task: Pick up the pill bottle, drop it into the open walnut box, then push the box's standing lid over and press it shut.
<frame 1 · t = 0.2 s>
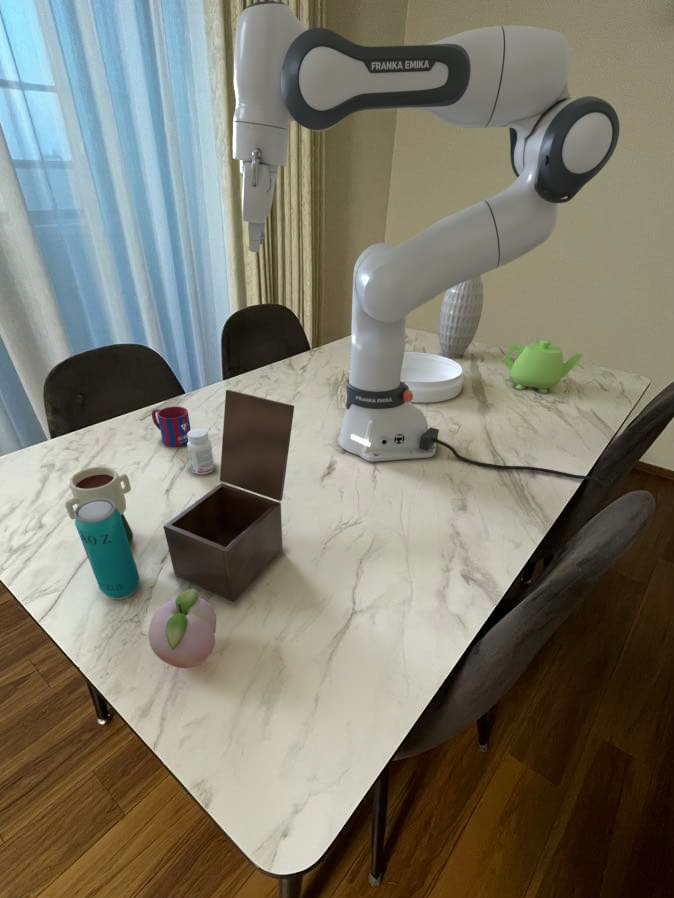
hand: (256, 247, 85), 39 cm above the table, tool pointing down, fingers open, 8 cm apart
character mug: (115, 543, 80), on the table
white round dish: (413, 385, 138), on the table
box: (230, 562, 76), on the table
lid: (254, 445, 72), point 17 cm above the table, hinge at 106.0°
pill bottle: (203, 470, 100), on the table
cup: (173, 438, 111), on the table
decorative fruit: (189, 657, 62), on the table
teapot: (532, 386, 138), on the table
beverage can: (122, 590, 72), on the table
vase: (452, 355, 160), on the table
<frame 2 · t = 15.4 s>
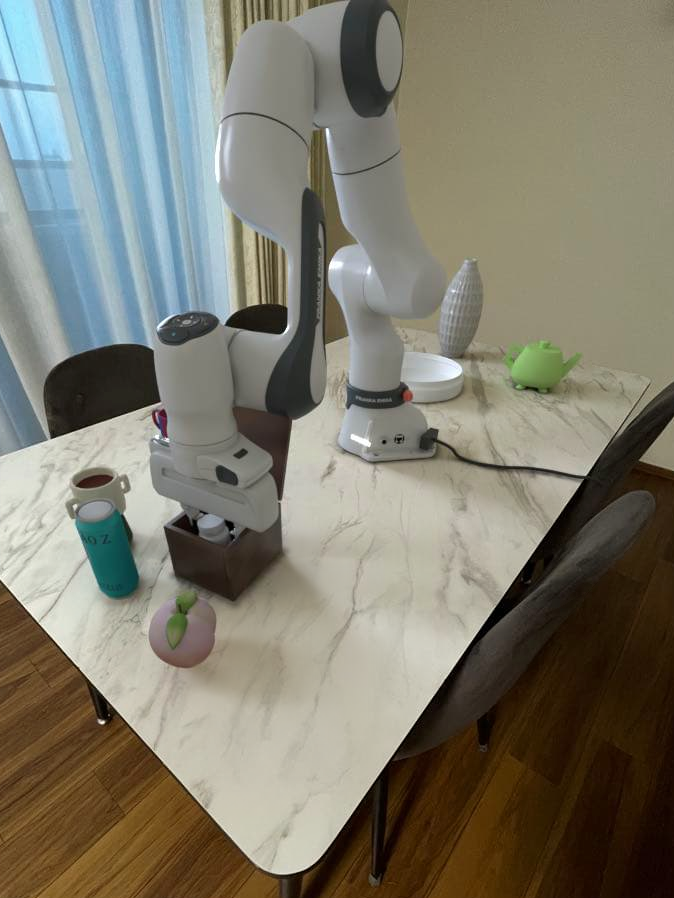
hand: (217, 532, 70), 8 cm above the table, tool pointing down, fingers open, 6 cm apart
pill bottle: (221, 565, 75), point 1 cm above the table, touching gripper
everything else where it was.
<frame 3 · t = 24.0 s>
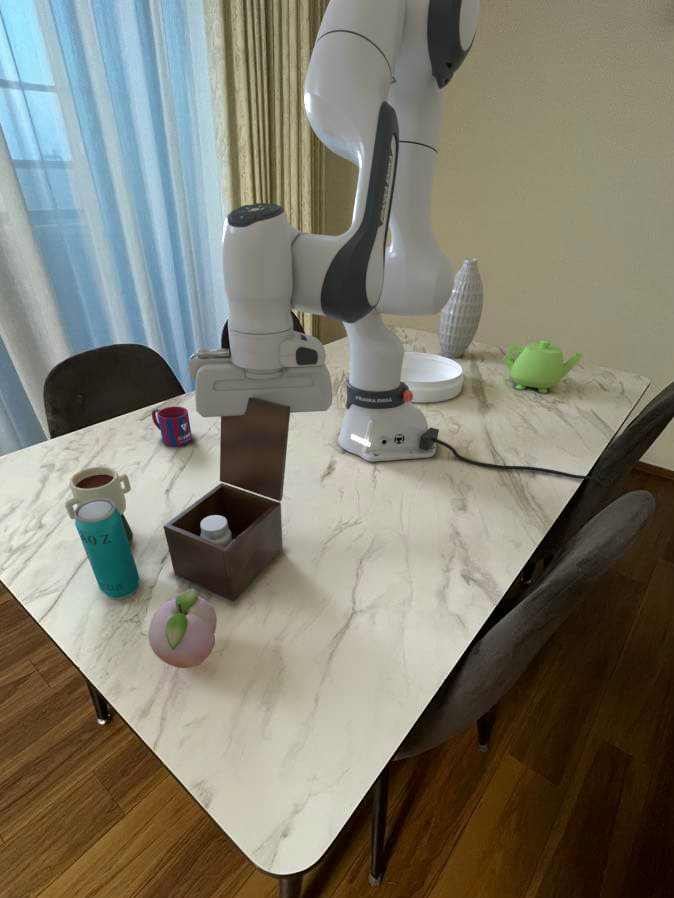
hand: (266, 438, 74), 17 cm above the table, tool pointing down, fingers closed
lid: (252, 446, 71), point 17 cm above the table, hinge at 101.7°, touching gripper
pill bottle: (220, 565, 75), point 1 cm above the table, touching box
everything else where it was.
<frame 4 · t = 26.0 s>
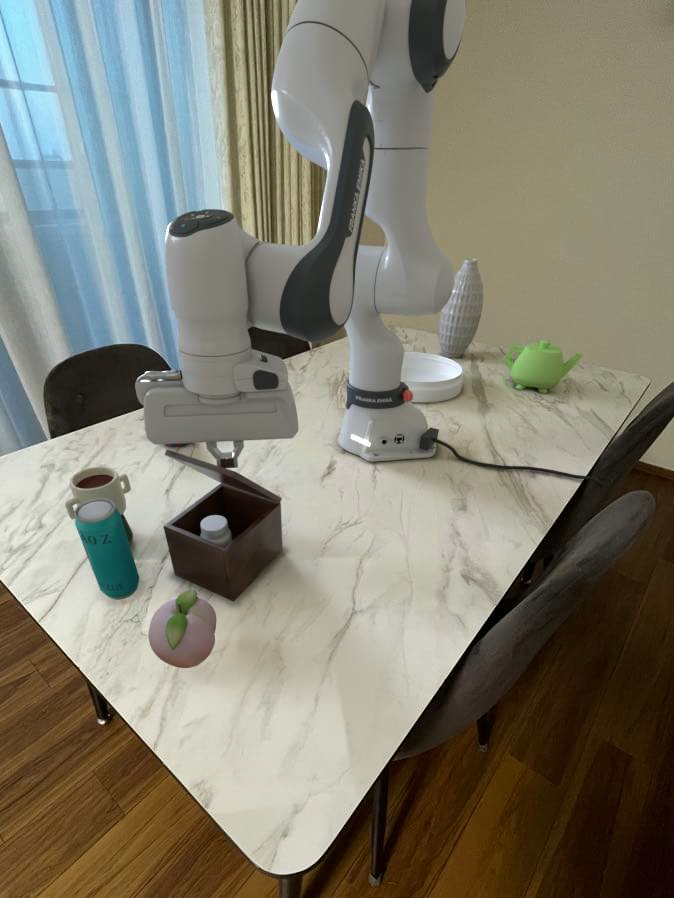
hand: (227, 466, 67), 17 cm above the table, tool pointing down, fingers closed
lid: (227, 477, 68), point 15 cm above the table, hinge at 44.0°, touching gripper
everything else where it was.
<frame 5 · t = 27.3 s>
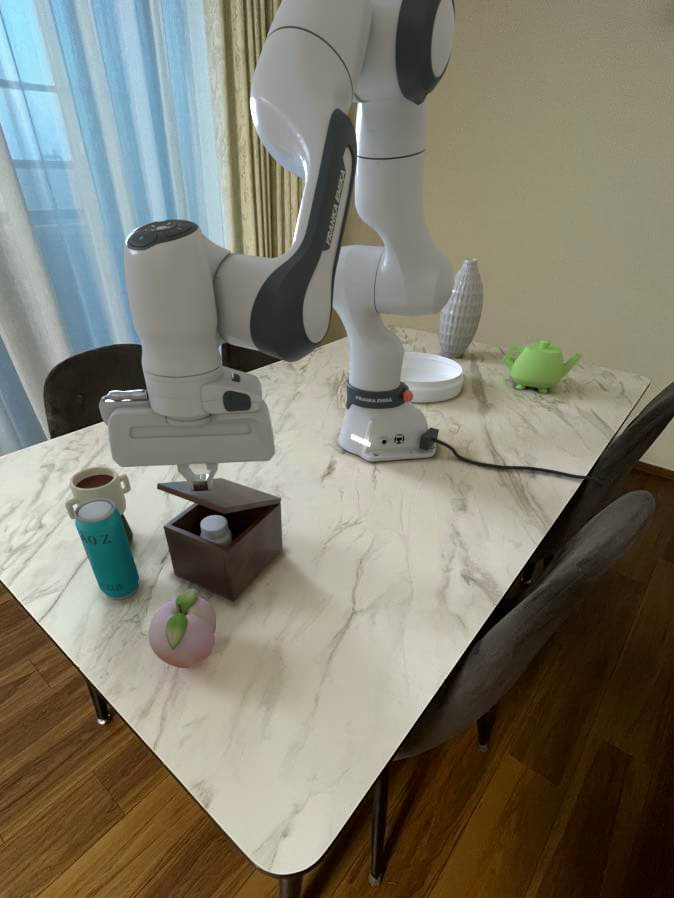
hand: (202, 488, 64), 16 cm above the table, tool pointing down, fingers closed
lid: (222, 493, 68), point 13 cm above the table, hinge at 24.9°, touching gripper
everything else where it was.
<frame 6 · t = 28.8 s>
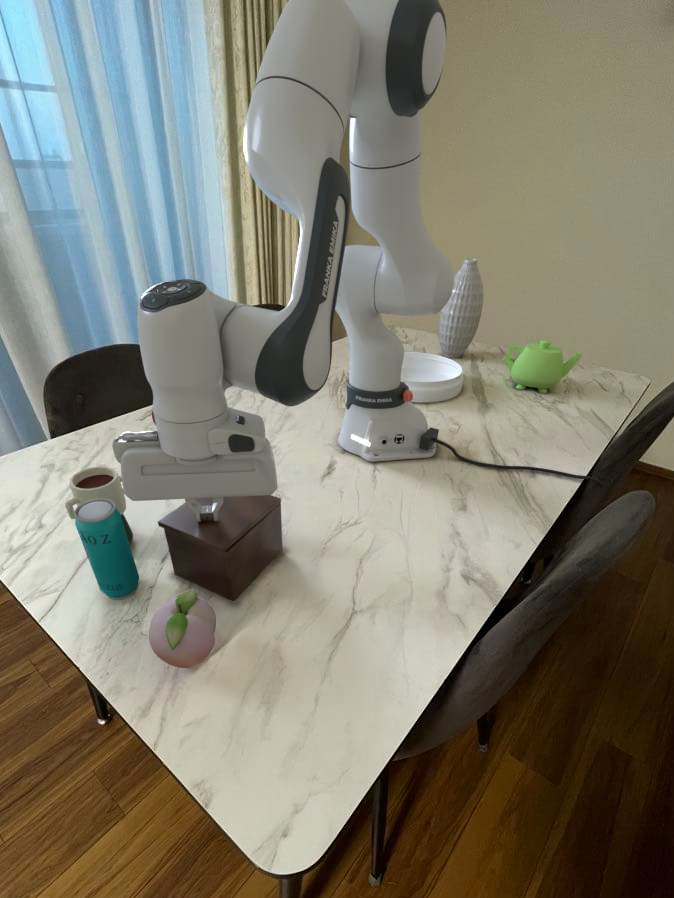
hand: (208, 519, 67), 11 cm above the table, tool pointing down, fingers closed
lid: (221, 511, 70), point 10 cm above the table, hinge at 1.8°, touching gripper
everything else where it was.
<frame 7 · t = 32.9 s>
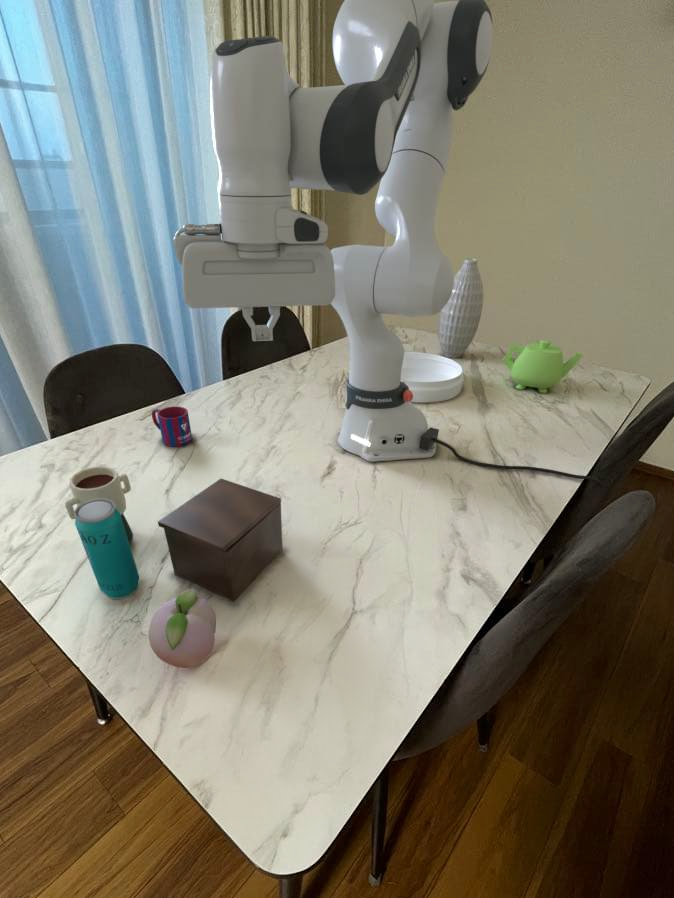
hand: (262, 339, 67), 31 cm above the table, tool pointing down, fingers closed
lid: (221, 511, 70), point 10 cm above the table, hinge at 1.7°
everything else where it was.
at the end: pill bottle inside the target area in the box (2.0 cm from its centre), point 0.6 cm above the box's base; lid at +2° (first picture: +106°); the gripper is holding nothing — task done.
